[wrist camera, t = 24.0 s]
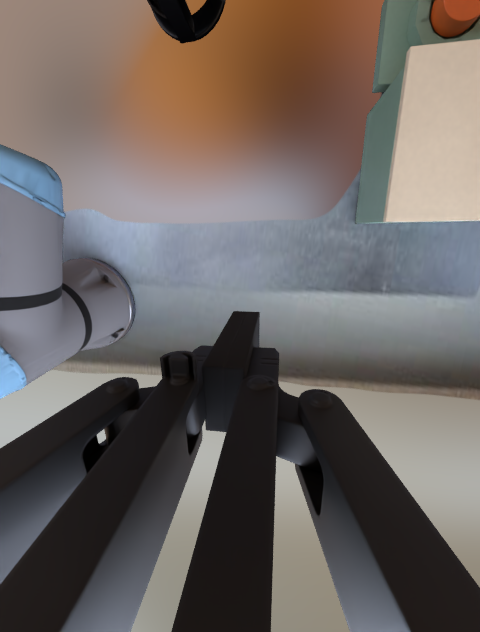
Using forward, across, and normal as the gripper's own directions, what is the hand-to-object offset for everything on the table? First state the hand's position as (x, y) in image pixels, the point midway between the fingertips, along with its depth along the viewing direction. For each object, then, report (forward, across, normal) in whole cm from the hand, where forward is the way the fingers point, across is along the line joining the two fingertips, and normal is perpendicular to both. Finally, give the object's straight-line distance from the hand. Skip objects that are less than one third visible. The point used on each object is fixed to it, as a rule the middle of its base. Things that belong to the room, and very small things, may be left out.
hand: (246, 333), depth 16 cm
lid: (+16, +18, +13) cm, 27 cm away
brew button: (+23, +18, +26) cm, 39 cm away
